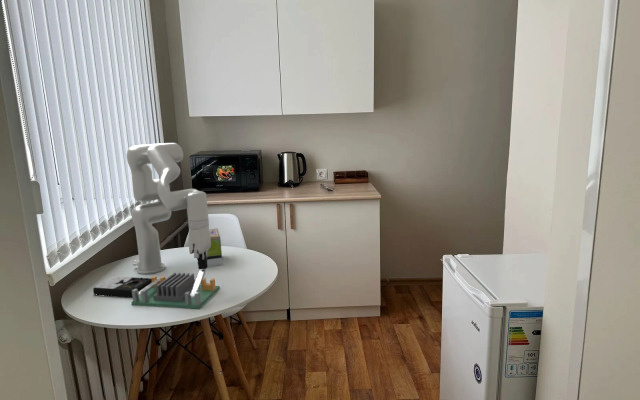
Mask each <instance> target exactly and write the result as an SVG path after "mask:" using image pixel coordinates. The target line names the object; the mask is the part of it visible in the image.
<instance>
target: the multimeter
mask: <svg viewBox="0 0 640 400" xmlns="http://www.w3.org/2000/svg"><path fill="white" fill-rule="evenodd" d="M151 278H152V277H150V278H148V277H147V278H146V277H134V276H133V277H132V276H118V275H117V276H112V277H110V278H108V279H107V280H105V281H103V282H101V283H99V284H98V285H96V286H94V287H93V289H92V292H93V295H94V294H97V295H96V296H99V295H104V296H103V297H114V298H129V299H133V297H132V290H134V289H138V292H139V291H140V290H142V289H143V288H145V287H146V286H148V285H149V284H150V283H152V279H151Z"/></svg>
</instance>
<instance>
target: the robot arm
mask: <svg viewBox="0 0 640 400" xmlns="http://www.w3.org/2000/svg"><path fill="white" fill-rule="evenodd" d="M126 151H127V152H126V160H127V164H128V166H129V168H130V173H131V179H132V180H131V181H132V191H133V193H132V194H133V197H134V200H135V201H136V202H139V203H140V202H141V204H139V205H138V204H137V205H136V206H134V207H133V208H132V210H131V213H130V214H131V219H132V221H133V225H134V229H135V235H136V244H137V252H138V259H134V260H133V262H132V265H133V266H137V268H136V272H137V273H138V274H141V275H151V274H156V273H159V272H162V271H163V270H165V269H166V264H165V263H163V262H162V255H161V247H160V237H159V232H158V230H157V228H155V227H154V226H153V224H157V223H160V222H164V221H168V220H169V219H170V218H171V216H172V212H176V211H182V210H186V209H187V219H188V220H187V222H188V229H189V230H188V248H189V254H190V255H192V254H193V258H194V259H196V260H197V267H198V269H199V270H200V269H206V268H207V269H208V265H207V251H208V250H209V248H210V247H211V239H210V232H209V229H210V228H209V227H210V222H209V209H208V199H207V198H208V197H207V193H206V192H204V191H202V190H201V191H200V190H198V189H196V188H188V189H187V188H186V189H181V190H174V191H171V189H170V185H169V184H171V183H172V182H173V181H175V180H176V179H177V178H178V177H179V176H180V174H181V168H180V166H179V165H178V163H180V162H182V161H183V159H184V152H183V148H182V147H181V145H179V144H178V143H176V142H165V143H164V142H163V143H162V142H161V143H149V144H139V145H138V144H137V145H133V146H130V147H129V148H128V149H127V150H126ZM148 164H149V165H152V167H153V168H154V170H155V171H156V173H157V175H158V177H159V178H153V171H152V168H151V167H150V166H149V165H148ZM156 200H157V201H156ZM150 201H153V202H150ZM144 202H147V203H144ZM207 269H206V270H207Z"/></svg>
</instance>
